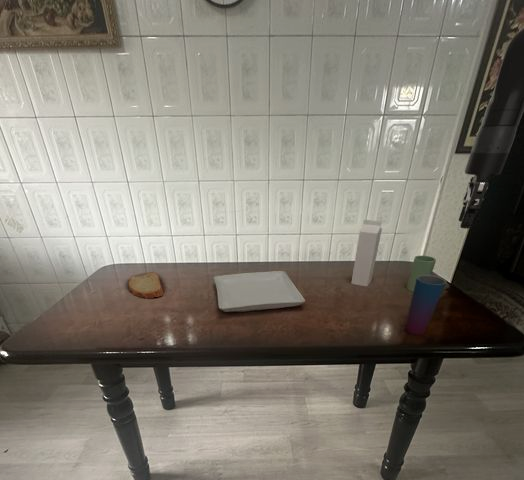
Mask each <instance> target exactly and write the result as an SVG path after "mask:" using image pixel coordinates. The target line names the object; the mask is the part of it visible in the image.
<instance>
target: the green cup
mask: <svg viewBox="0 0 524 480" xmlns="http://www.w3.org/2000/svg"><path fill="white" fill-rule="evenodd" d="M436 262H437V259H436V258H435V257H433V256H429V255H415V256H414V258H413V262H412V264H411V265H412V266H411V268H410V272H409V277H408V279H407V284H406V286H405V287H406V289H407V291H409V292H412V293H413V292H414V288H415V283H416V279H417V276H419V275H433V271H434V268H435V265H436Z"/></svg>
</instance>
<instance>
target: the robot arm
mask: <svg viewBox="0 0 524 480" xmlns="http://www.w3.org/2000/svg"><path fill="white" fill-rule="evenodd" d="M523 114H524V28H522V29H521V30H519V31H518V32H517V33H516V34H515V35H514V36H513V37H512V38H511V40H510V41H509V43H508V45H507V47H506V48H505V51H504V54H503V57H502V61H501V64H500V67H499V71H498V75H497V78H496V82H495V85H494V89H493V93H492V95H491V98H490V100H489V101H488V104H487V105H486V109H485V112H484V115H483V118H482V121H481V124H480V127H479V130H478V132H477V134H476V136H475V139H474V141H473V145H472V148H471V150H470V154H469V157H468V160H467V163H466V166H465V168H464V174H465V175H470V176H471V178H470V180H469V182H468V183H467V184H466V185H467V186H466V191H465V193H464V196H463V199H462V207H461V211H460V214H459V217H458V222H460V225H459V226H460V228H461V229H465V230H467V229H470V228H471V226H472V225H473V221H474V218H475V216H476V213H478V212H479V211H480V209H481V206H482V203H483V201H484V197H485V195H486V192H487V190H488V188H489V186H490V184H489V183H490V182H488V178H489V177H490V176H499V175H501V174H502V171H503V169H504V167H505V164H506V161H507V159H508V156H509V153H510V151H511V148H512V146H513V144H514V140H515V138H516V133H517V130H518V128H519V127H518V126H519V125H520V121H521V119H522V117H523Z"/></svg>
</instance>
